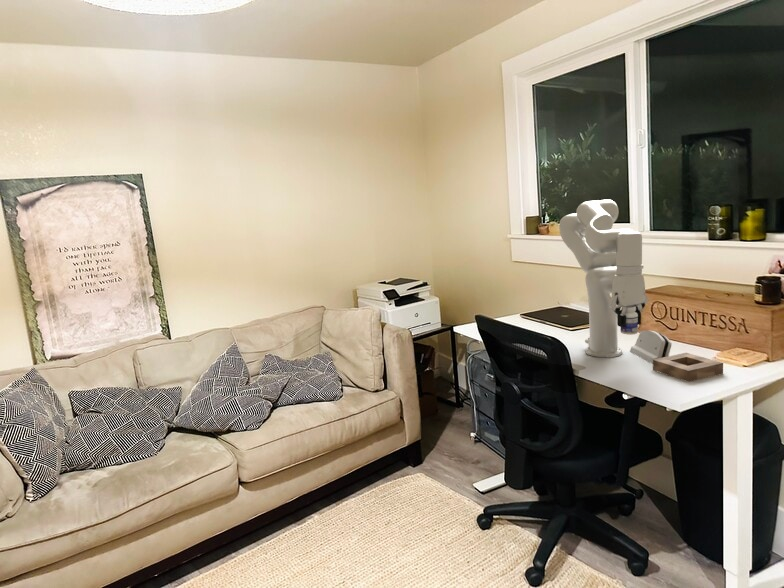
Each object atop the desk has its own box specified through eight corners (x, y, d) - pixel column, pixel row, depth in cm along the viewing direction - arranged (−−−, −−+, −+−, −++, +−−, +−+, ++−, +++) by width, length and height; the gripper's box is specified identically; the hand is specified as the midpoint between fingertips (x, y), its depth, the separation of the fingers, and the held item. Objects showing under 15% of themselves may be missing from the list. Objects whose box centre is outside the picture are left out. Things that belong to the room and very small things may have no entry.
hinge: (629, 351, 206) (638, 325, 204) (641, 354, 206) (650, 328, 205) (652, 363, 189) (662, 335, 188) (665, 367, 190) (675, 339, 188)
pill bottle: (618, 330, 187) (618, 304, 185) (635, 330, 186) (635, 304, 184) (622, 335, 182) (622, 308, 180) (639, 334, 181) (639, 307, 179)
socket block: (652, 369, 183) (652, 359, 183) (686, 362, 188) (686, 352, 187) (688, 381, 170) (688, 370, 170) (723, 373, 175) (723, 362, 174)
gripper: (641, 265, 186) (641, 319, 190) (599, 272, 181) (599, 326, 184) (659, 268, 179) (658, 323, 183) (615, 275, 174) (615, 331, 177)
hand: (629, 324), depth 183 cm, fingers closed on pill bottle, 5 cm apart
